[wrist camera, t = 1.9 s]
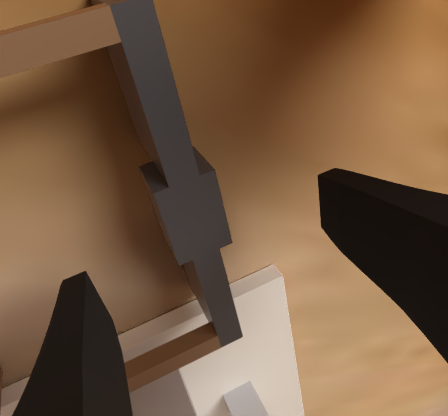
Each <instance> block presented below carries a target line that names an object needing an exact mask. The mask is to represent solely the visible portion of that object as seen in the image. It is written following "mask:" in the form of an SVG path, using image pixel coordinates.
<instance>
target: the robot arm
mask: <svg viewBox="0 0 448 416" xmlns="http://www.w3.org/2000/svg"><path fill="white" fill-rule="evenodd" d="M318 187H319V202H320V216H321V227H322V229H323V230H324V231H325V233H326V234H327V235H328V236H329V238H330V239H331V240H332V242H333V243H334V244H335V245H336V246H337V247H338V249H339V250H340V251H341V252H342V253H343V254H344V255H345V256H346V257H347V258H348V259H349V260H350V261H351V262H353V263H354V264H355V265H356V266H357V267H358V268H359V269H360V270H361V271H362V272H363V273H364V274H365V275H366V276H368V277H369V278H370V279H371V280H372V281H373V282H374V283H375V284H376V285H377V286H378V287H379V288H381V289H382V290H383V291H384V292H385V293H386V294H387V295H388V296H389V297H390V298H391V299H392V300H393V301H394V302H395V303H396V304H397V305H398V306H399V307H400V308H401V309H402V310H403V311H404V312H405V313H406V314H407V315H408V317H409V318H410V319H411V320H412V321H413V322H414V323H415V325H416V326H417V327H418V328H419V329H420V330H421V331H422V333H423V334H424V335H425V336H426V337H427V339H428V340H429V341H430V342H431V343H432V345H433V346H434V347H435V348H436V349H437V351H438V352H439V353H440V354H441V355H442V357H443V358H444V359H445V360H446V362H447V363H448V195H447V194H442V193H437V192H432V191H427V190H422V189H418V188H414V187H409V186H405V185H401V184H397V183H393V182H389V181H386V180H382V179H378V178H374V177H370V176H367V175H363V174H359V173H355V172H351V171H347V170H343V169H338V168H334V169H331V170H329V171H326V172H324V173H321V174H319V175H318ZM12 416H133V413H132V407H131V401H130V395H129V389H128V382H127V376H126V371H125V365H124V359H123V353H122V349H121V346H120V342H119V339H118V336H117V332H116V329H115V326H114V322H113V320H112V318H111V316H110V314H109V312H108V310H107V309H106V307H105V305H104V303H103V301H102V300H101V298H100V296H99V294H98V292H97V291H96V289H95V287H94V285H93V283H92V281H91V280H90V278H89V276H88V274H87V272H86V271H84V272H82V273H79V274H77V275H75V276H72V277H70V278H67V279H65V280H63V281H62V283H61V286H60V290H59V293H58V297H57V301H56V304H55V308H54V311H53V314H52V318H51V321H50V324H49V327H48V330H47V333H46V336H45V339H44V341H43V344H42V347H41V350H40V353H39V355H38V358H37V360H36V363H35V365H34V368H33V370H32V373H31V375H30V377H29V380H28V382H27V385H26V387H25V389H24V391H23V394H22V396H21V398H20V400H19V402H18V404H17V406H16V408H15V410H14V412H13V414H12Z"/></svg>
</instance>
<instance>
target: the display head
mask: <svg viewBox="0 0 448 416" xmlns="http://www.w3.org/2000/svg"><path fill="white" fill-rule="evenodd" d="M229 286H230V290H231V294H232V297H233V301H234V305H235V308H236V312H237V316H238V320H239V323H240V327H241V331H242V334H243V337H242V338H240V339H238V340H236V341H234V342H232V343H230V344H228V345H226V346H224V347H222V348H220V349H218V350H216V351H214V352H212V353H210V354H208V355H206V356H204V357H202V358H200V359H198V360H196V361H194V362H192V363H189V364H187V365H185V366H183V367H181V368H179V369H177V370H175V371H173V372H171V373H169V374H167V375H165V376H163V377H161V378H159V379H157V380H155V381H153V382H151V383H149V384H147V385H145V386H143V387H141V388H139V389H137V390H135V391H133V392H131V393H129V395H130V401H131V407H132V413H133V416H304V409H303V403H302V396H301V390H300V383H299V377H298V371H297V364H296V358H295V351H294V345H293V338H292V332H291V325H290V319H289V312H288V306H287V299H286V293H285V286H284V280H283V275H282V274H281V273H280V271H279V270H278V269H277V268H276V267H275V265H274V264H272V265H270V266H268V267H266V268H263V269H261V270H259V271H257V272H255V273H253V274H250V275H248V276H246V277H244V278H242V279H240V280H237V281H235V282H233V283H231V284H229ZM207 323H209V322H208V320H207V318H206V316H205V314H204V312H203V310H202V308H201V306H200V304H199V302H198V300H197V299H196V300H194V301H192V302H190V303H187V304H185V305H183V306H181V307H179V308H176V309H174V310H172V311H170V312H168V313H166V314H163V315H161V316H159V317H157V318H155V319H153V320H150V321H148V322H146V323H144V324H142V325H139V326H137V327H135V328H133V329H131V330H129V331H126V332H124V333H122V334H120V335H118V339H119V342H120V346H121V349H122V353H123V359H124V363H125V362H127V361H129V360H131V359H133V358H135V357H138V356H140V355H142V354H144V353H146V352H148V351H150V350H152V349H154V348H156V347H158V346H161V345H163V344H165V343H167V342H169V341H171V340H173V339H175V338H177V337H179V336H182V335H184V334H186V333H188V332H190V331H192V330H194V329H196V328H198V327H200V326H203V325H205V324H207ZM29 377H30V376H29ZM29 377H26V378H24V379H22V380H20V381H18V382H16V383H13V384H11V385H9V386H7V387H5V388H2V394H1V412H0V416H12V414H13V412H14V410H15V408H16V406H17V404H18V402H19V400H20V398H21V396H22V394H23V391H24V389H25V387H26V385H27V382H28V380H29Z"/></svg>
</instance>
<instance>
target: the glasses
mask: <svg viewBox="0 0 448 416" xmlns="http://www.w3.org/2000/svg"><path fill="white" fill-rule="evenodd" d="M90 1H91V4H92V6H91V7H87V8H83V9H80V10H76V11H72V12H69V13H65V14H61V15H58V16H54V17H50V18H47V19H43V20H39V21H36V22H32V23H28V24H25V25H21V26H18V27H14V28H10V29H7V30H3V31H0V78H2V77H6V76H9V75H12V74H16V73H19V72H22V71H26V70H29V69H33V68H36V67H39V66H43V65H46V64H49V63H53V62H56V61H59V60H63V59H66V58H69V57H73V56H76V55H80V54H83V53H86V52H90V51H93V50H96V49H100V48H103V47H107V50H108V53H109V56H110V58H111V61H112V64H113V67H114V70H115V73H116V76H117V78H118V81H119V84H120V87H121V90H122V93H123V95H124V98H125V101H126V104H127V107H128V110H129V113H130V115H131V118H132V121H133V124H134V127H135V130H136V133H137V135H138V138H139V141H140V143H141V144H142V146H143V147H144V149H145V150H146V152H147V154H148V155H149V157H150V158H151V160H152V162H150V163H147V164H144V165H142V166H139V170H140V172H141V175H142V178H143V180H144V183H145V186H146V189H147V191H148V194H149V197H150V200H151V202H152V205H153V208H154V210H155V213H156V216H157V219H158V221H159V224H160V227H161V230H162V232H163V235H164V237H165V239H166V241H167V243H168V245H169V247H170V249H171V251H172V253H173V255H174V257H175V259H176V261H177V263H178V265H179V266H181V265H183V267H184V270H185V273H186V275H187V278H188V281H189V284H190V287H191V289H192V291H193V293H194V295H195V296H196V298H197V300H198V302H199V304H200V306H201V308H202V310H203V312H204V314H205V316H206V318H207V320H208V322H209V323H207V324H205V325H203V326H200V327H198V328H196V329H194V330H192V331H190V332H188V333H186V334H184V335H182V336H179V337H177V338H175V339H173V340H171V341H169V342H167V343H165V344H163V345H161V346H158V347H156V348H154V349H152V350H150V351H148V352H146V353H144V354H142V355H140V356H138V357H135V358H133V359H131V360H129V361H127V362H125V363H124V365H125V371H126V376H127V382H128V389H129V393H131V392H133V391H135V390H137V389H139V388H141V387H143V386H145V385H147V384H149V383H151V382H153V381H155V380H157V379H159V378H161V377H163V376H165V375H167V374H169V373H171V372H173V371H175V370H177V369H179V368H181V367H183V366H185V365H187V364H189V363H192V362H194V361H196V360H198V359H200V358H202V357H204V356H206V355H208V354H210V353H212V352H214V351H216V350H218V349H220V348H222V347H224V346H226V345H228V344H230V343H232V342H234V341H236V340H238V339H240V338H242V337H243V334H242V331H241V327H240V323H239V320H238V316H237V312H236V308H235V305H234V301H233V297H232V294H231V290H230V286H229V282H228V279H227V275H226V271H225V267H224V264H223V260H222V256H221V253H220V249H219V248H222V247H224V246H226V245H229V244H231V243H232V239H231V235H230V231H229V227H228V222H227V218H226V214H225V210H224V206H223V202H222V198H221V193H220V189H219V185H218V181H217V177H216V173H215V169H214V168H213V167H212V166H211V165H210V164H209V163H208V162H207V161H206V160H205V158H204V157H203V156H202V155H201V154H200V153H199V152H198V151H197V150H196V149H195V147H194V146H193V147H192V145H191V141H190V137H189V133H188V130H187V126H186V122H185V118H184V115H183V111H182V107H181V104H180V100H179V96H178V92H177V89H176V85H175V81H174V77H173V74H172V70H171V66H170V63H169V59H168V55H167V51H166V48H165V44H164V40H163V37H162V33H161V29H160V25H159V22H158V18H157V14H156V10H155V7H154V3H153V0H90ZM2 376H3V371H2V369H1V368H0V412H1V394H2Z"/></svg>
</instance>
